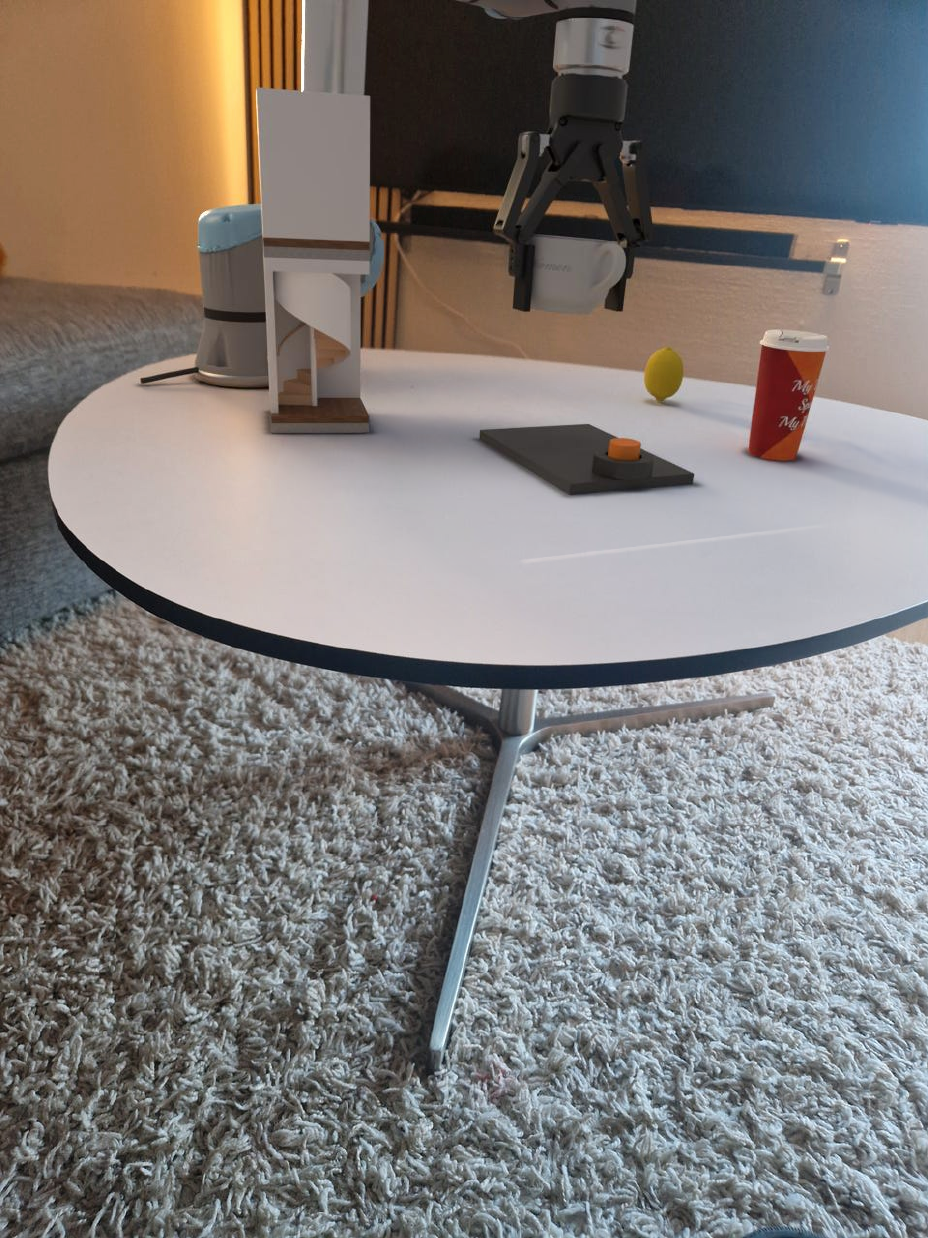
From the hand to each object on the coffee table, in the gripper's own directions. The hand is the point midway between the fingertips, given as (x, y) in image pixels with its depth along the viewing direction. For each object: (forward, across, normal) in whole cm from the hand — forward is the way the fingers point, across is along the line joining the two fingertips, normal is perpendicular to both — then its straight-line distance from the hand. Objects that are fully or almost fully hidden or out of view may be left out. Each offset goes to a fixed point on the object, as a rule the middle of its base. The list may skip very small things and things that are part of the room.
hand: (568, 310), depth 98 cm
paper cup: (+16, +26, -8) cm, 31 cm away
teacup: (+1, 0, 0) cm, 1 cm away
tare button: (+13, +1, -13) cm, 19 cm away
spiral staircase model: (+16, -24, +18) cm, 34 cm away
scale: (+16, 0, -5) cm, 16 cm away
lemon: (+16, +28, +20) cm, 38 cm away
